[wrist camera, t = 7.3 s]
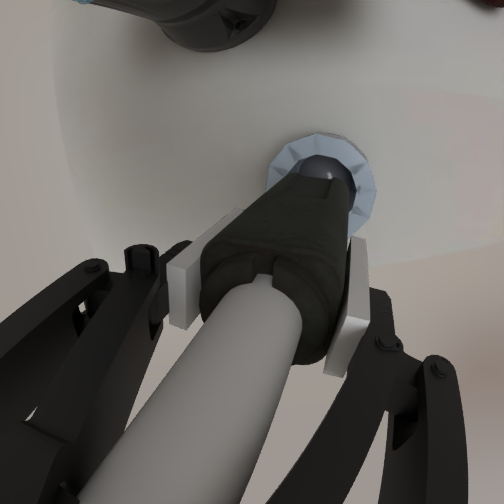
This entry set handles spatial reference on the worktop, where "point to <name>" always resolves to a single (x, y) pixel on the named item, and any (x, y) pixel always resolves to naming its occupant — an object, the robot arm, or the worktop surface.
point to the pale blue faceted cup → (330, 170)
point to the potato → (495, 3)
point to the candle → (237, 351)
